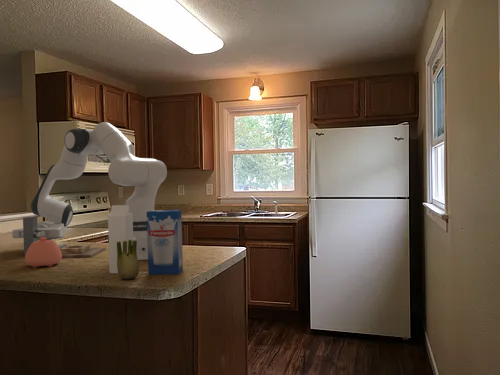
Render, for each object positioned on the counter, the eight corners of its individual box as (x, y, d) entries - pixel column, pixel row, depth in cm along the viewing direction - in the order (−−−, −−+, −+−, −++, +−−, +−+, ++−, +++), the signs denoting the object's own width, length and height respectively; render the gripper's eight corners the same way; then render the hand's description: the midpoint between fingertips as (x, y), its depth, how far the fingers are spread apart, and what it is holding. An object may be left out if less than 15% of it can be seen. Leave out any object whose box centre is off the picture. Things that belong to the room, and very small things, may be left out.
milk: (127, 273, 138) (125, 205, 137) (109, 273, 139) (107, 206, 138) (134, 269, 144) (132, 204, 143) (117, 269, 145) (115, 204, 144)
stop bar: (38, 254, 180) (37, 216, 180) (33, 255, 176) (32, 217, 176) (28, 254, 180) (27, 216, 180) (24, 256, 176) (22, 217, 176)
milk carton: (148, 274, 136) (146, 211, 135) (153, 270, 142) (151, 210, 142) (179, 274, 135) (177, 211, 135) (183, 269, 142) (181, 209, 141)
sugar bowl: (21, 270, 148) (20, 240, 148) (30, 262, 162) (29, 235, 161) (59, 267, 151) (58, 238, 151) (65, 260, 165) (64, 233, 165)
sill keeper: (105, 249, 188) (105, 242, 188) (91, 257, 170) (91, 249, 170) (55, 251, 187) (55, 244, 187) (35, 258, 169) (35, 251, 169)
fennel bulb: (115, 280, 129) (114, 240, 128) (124, 276, 133) (123, 238, 133) (133, 281, 127) (132, 241, 127) (141, 277, 132) (140, 238, 132)
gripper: (21, 224, 190) (4, 228, 177) (67, 223, 191) (53, 226, 177) (21, 238, 191) (4, 243, 177) (67, 237, 191) (54, 242, 177)
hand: (29, 235), depth 177 cm, fingers closed on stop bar, 4 cm apart
